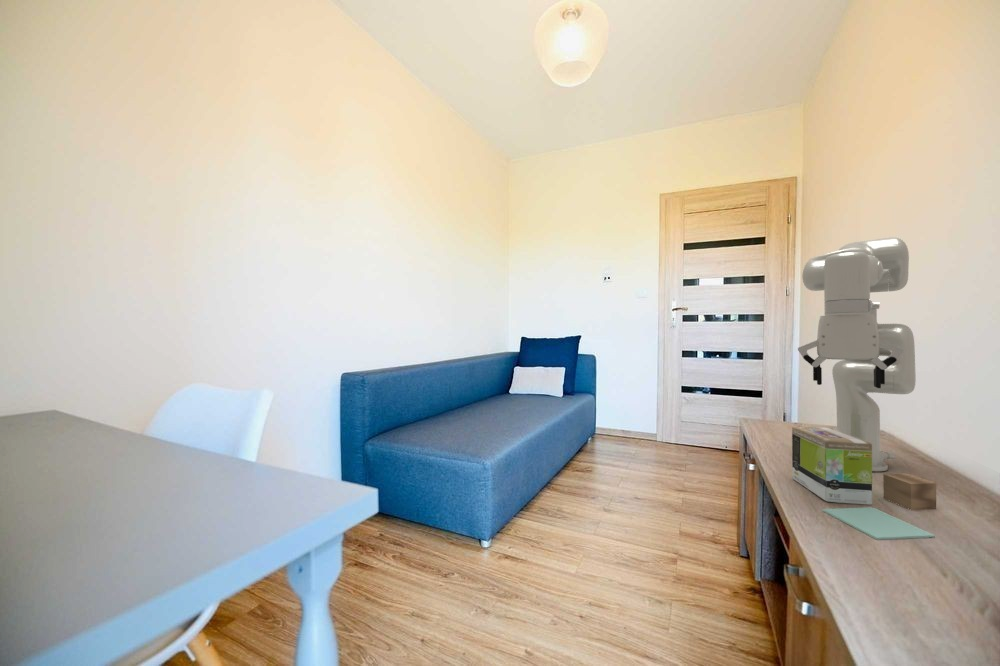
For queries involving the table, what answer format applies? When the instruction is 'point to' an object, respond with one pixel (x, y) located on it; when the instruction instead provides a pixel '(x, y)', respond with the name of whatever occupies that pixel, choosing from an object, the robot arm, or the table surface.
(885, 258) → the robot arm
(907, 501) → the walnut cube
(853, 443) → the tea box
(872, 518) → the teal pad
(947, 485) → the table surface
